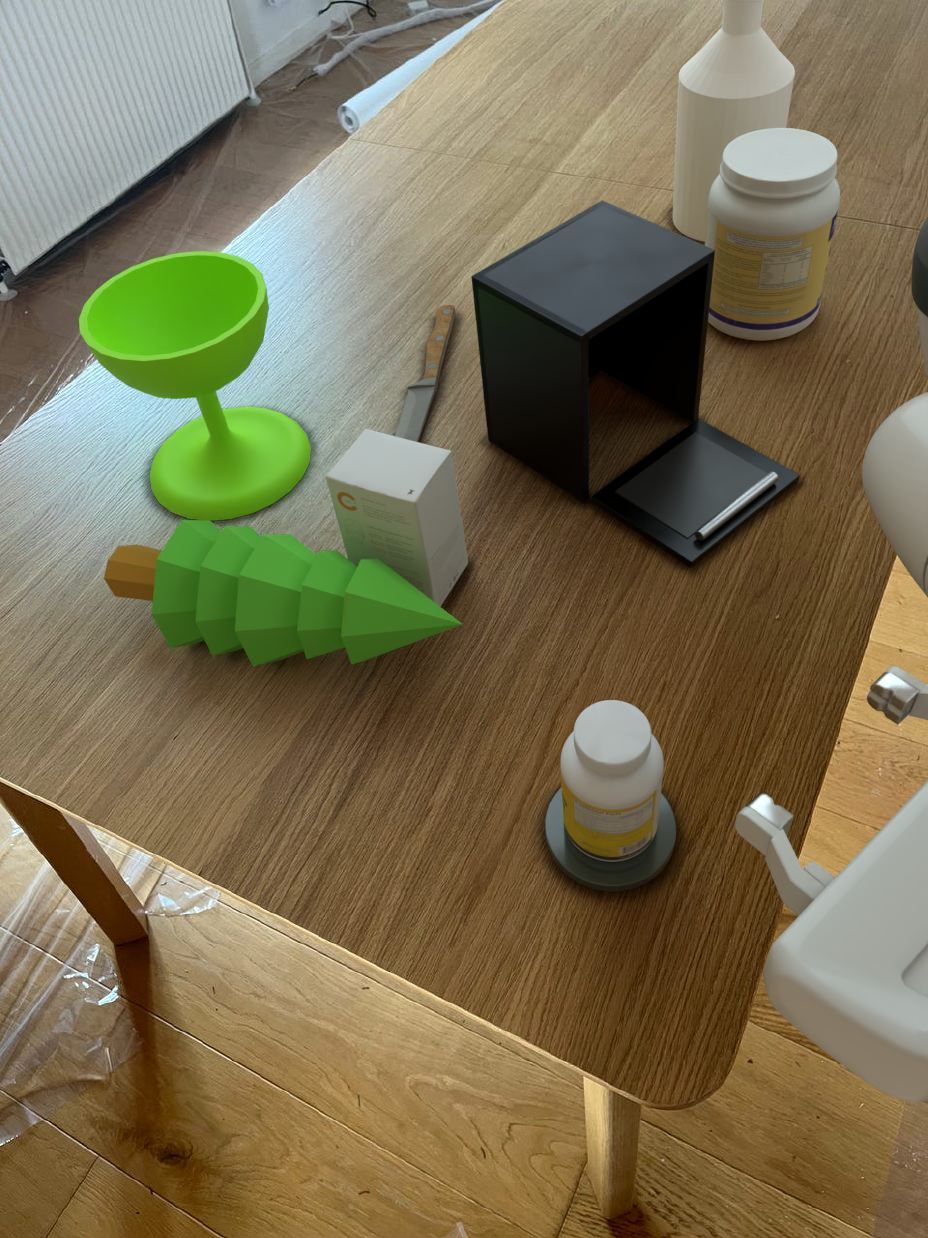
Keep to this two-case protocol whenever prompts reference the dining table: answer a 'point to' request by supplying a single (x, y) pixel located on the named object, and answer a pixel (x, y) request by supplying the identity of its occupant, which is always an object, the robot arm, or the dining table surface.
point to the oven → (616, 374)
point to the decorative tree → (271, 595)
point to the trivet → (606, 872)
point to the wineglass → (198, 378)
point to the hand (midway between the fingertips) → (814, 743)
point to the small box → (401, 510)
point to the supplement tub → (771, 232)
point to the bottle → (725, 105)
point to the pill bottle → (611, 781)
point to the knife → (427, 378)
